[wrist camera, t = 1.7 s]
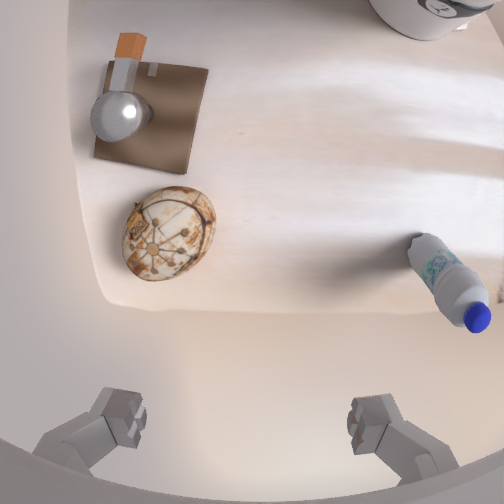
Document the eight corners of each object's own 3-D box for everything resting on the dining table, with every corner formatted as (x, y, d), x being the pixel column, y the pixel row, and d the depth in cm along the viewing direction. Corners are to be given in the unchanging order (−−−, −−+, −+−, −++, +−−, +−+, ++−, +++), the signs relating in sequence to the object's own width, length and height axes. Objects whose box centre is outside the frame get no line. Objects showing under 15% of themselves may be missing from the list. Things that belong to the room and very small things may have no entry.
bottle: (436, 265, 45) (495, 341, 27) (401, 269, 46) (452, 353, 28) (441, 227, 42) (511, 294, 24) (404, 229, 43) (466, 303, 25)
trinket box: (226, 191, 43) (215, 207, 36) (206, 280, 50) (195, 308, 43) (140, 170, 43) (115, 182, 36) (131, 257, 49) (109, 281, 42)
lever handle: (144, 141, 35) (129, 145, 31) (104, 135, 35) (86, 138, 31) (166, 40, 29) (152, 33, 25) (123, 39, 29) (107, 33, 25)
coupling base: (113, 61, 36) (92, 57, 30) (208, 70, 36) (197, 63, 31) (97, 155, 42) (76, 163, 37) (186, 173, 42) (172, 182, 37)
